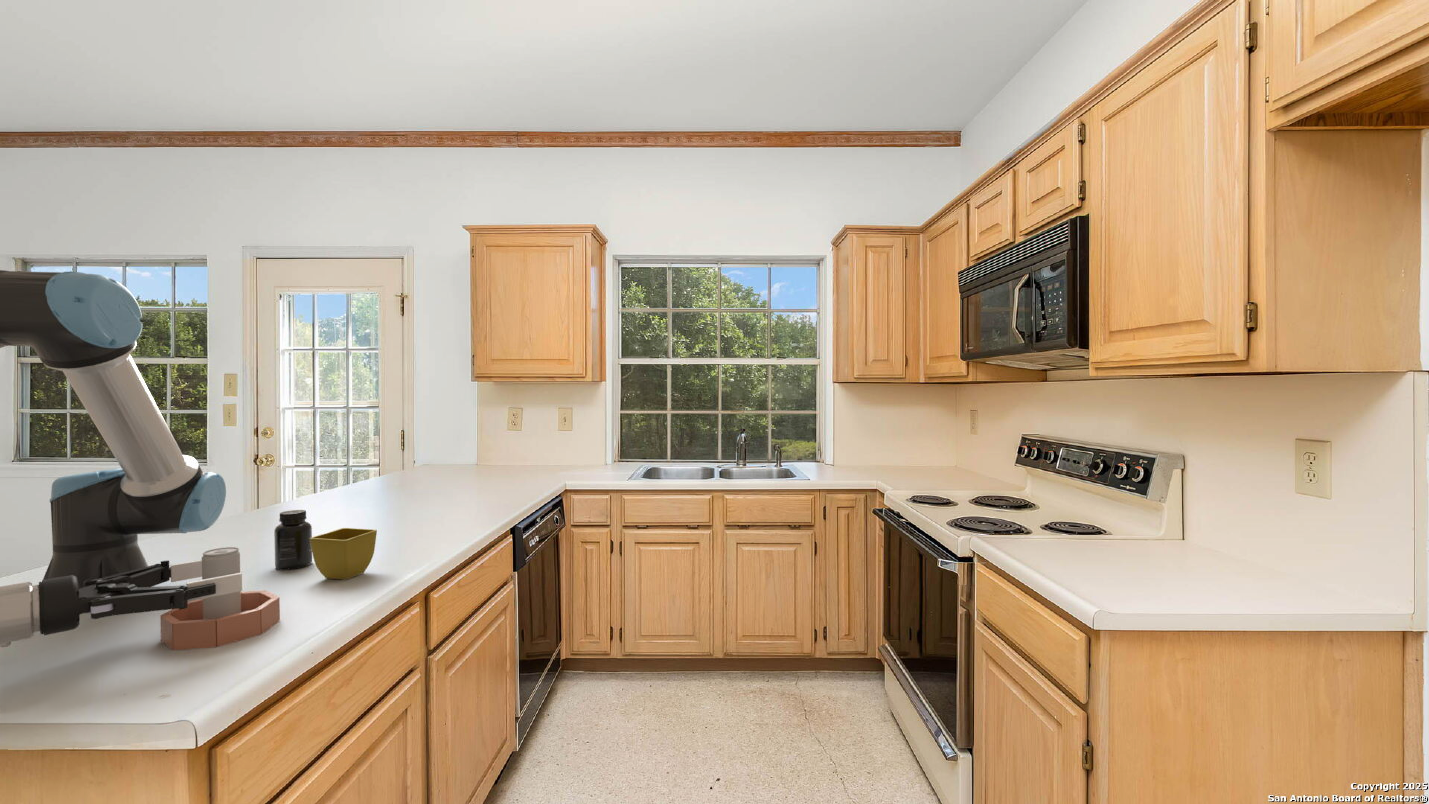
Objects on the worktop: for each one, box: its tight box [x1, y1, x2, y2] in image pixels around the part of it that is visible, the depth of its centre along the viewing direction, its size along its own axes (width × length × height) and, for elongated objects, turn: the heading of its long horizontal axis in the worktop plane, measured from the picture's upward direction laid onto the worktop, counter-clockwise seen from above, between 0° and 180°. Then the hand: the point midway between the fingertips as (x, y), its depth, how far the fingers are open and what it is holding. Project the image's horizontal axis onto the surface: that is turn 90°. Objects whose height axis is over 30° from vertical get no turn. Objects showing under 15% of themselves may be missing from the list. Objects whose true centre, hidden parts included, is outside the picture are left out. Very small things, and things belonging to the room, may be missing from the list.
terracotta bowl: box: [159, 590, 281, 651], centre depth 99 cm, size 14×14×4 cm
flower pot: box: [310, 527, 378, 581], centre depth 127 cm, size 9×9×9 cm
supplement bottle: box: [273, 509, 313, 570], centre depth 134 cm, size 7×7×12 cm
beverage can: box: [201, 546, 242, 620], centre depth 99 cm, size 5×5×12 cm
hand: (231, 572), depth 99 cm, fingers open, 13 cm apart
